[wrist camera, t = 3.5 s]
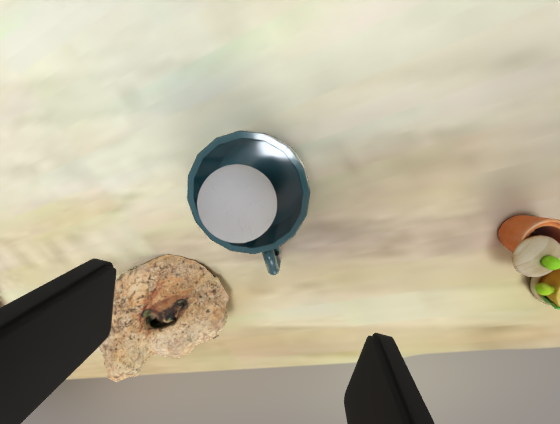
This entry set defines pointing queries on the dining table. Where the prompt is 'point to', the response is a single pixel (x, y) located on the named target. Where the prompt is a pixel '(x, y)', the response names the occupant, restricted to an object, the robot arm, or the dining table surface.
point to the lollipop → (237, 203)
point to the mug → (276, 167)
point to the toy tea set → (535, 253)
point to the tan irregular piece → (162, 313)
